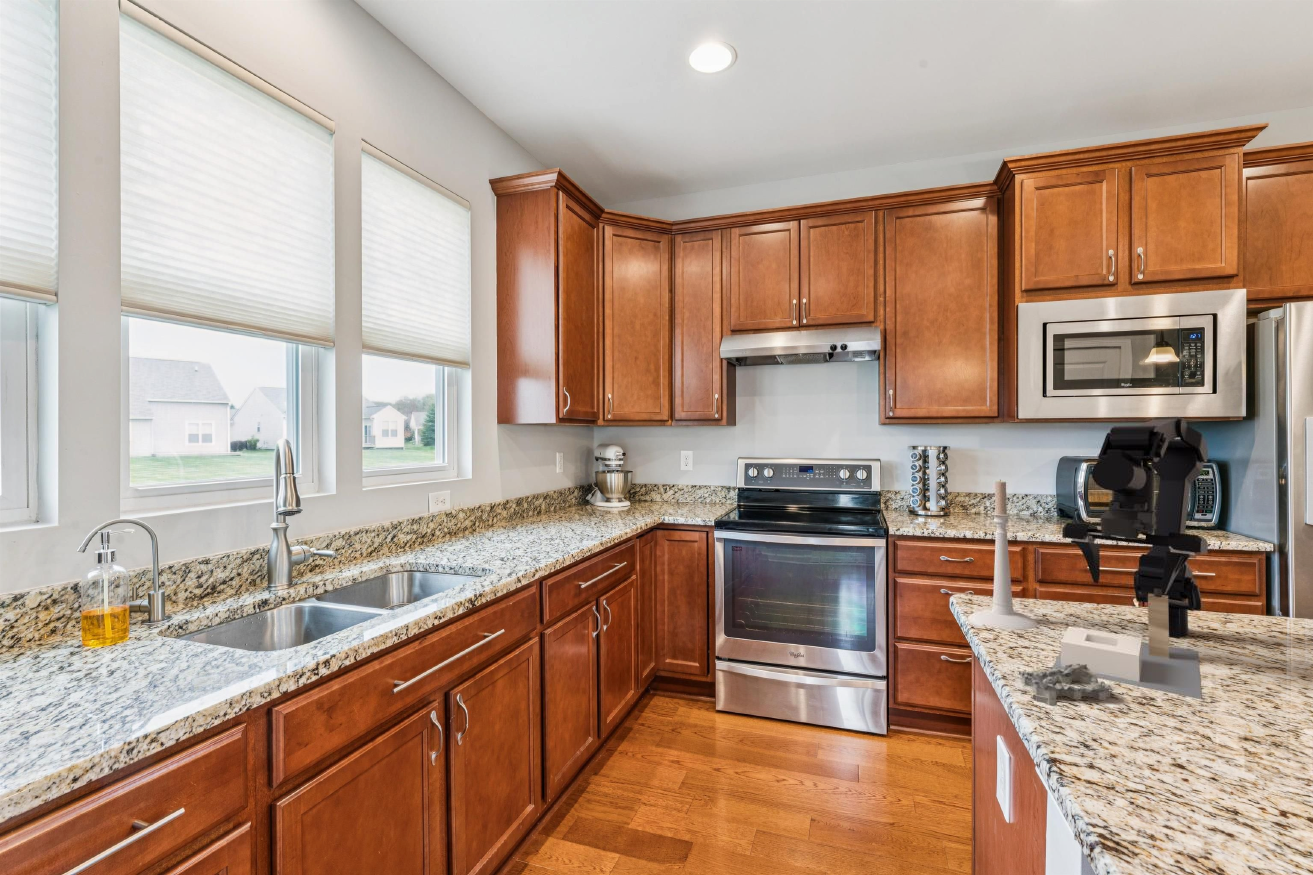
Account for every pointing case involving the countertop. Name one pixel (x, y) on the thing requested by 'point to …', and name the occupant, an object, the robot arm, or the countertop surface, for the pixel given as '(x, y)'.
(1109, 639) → the holder
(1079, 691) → the egg carton
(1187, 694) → the board
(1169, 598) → the robot arm
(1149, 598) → the peg
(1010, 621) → the candlestick
